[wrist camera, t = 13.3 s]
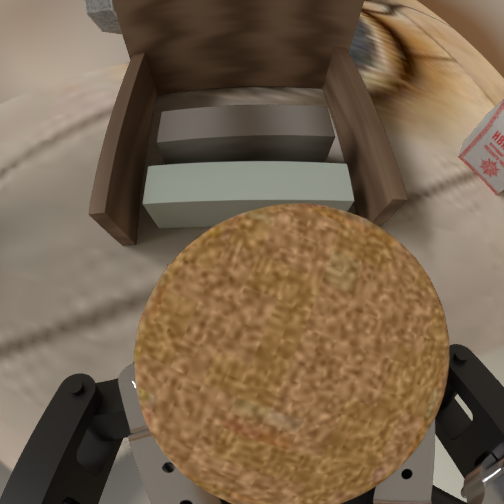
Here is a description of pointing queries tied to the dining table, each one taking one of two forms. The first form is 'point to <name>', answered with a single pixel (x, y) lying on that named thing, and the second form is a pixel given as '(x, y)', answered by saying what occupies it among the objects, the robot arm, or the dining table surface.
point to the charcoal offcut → (245, 134)
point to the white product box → (487, 149)
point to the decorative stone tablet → (103, 15)
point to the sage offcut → (239, 189)
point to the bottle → (291, 357)
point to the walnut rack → (240, 75)
